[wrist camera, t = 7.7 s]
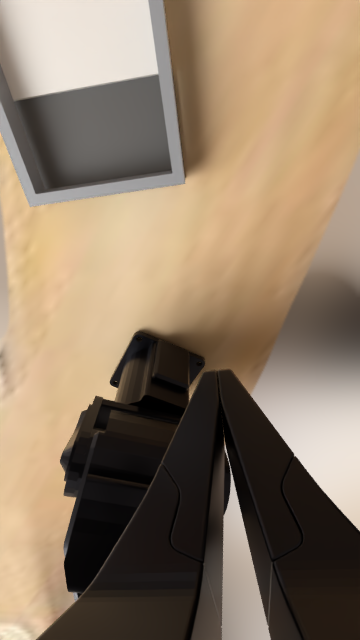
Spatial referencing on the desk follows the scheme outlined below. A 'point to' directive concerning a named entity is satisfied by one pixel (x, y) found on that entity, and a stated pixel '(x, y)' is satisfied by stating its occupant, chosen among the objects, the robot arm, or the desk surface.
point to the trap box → (88, 98)
